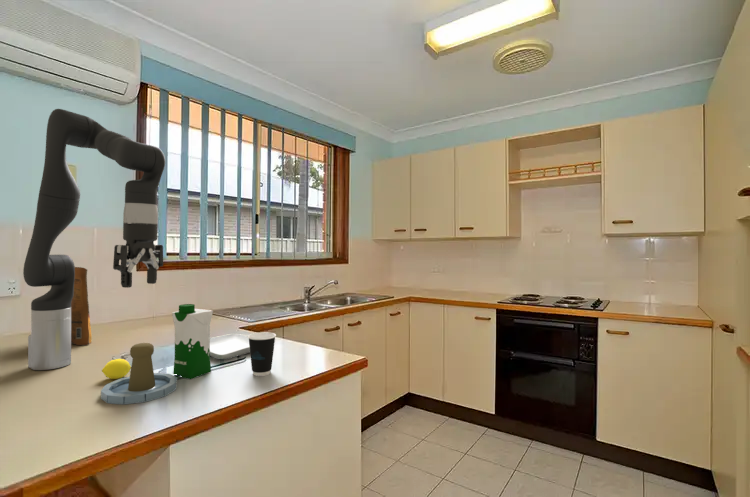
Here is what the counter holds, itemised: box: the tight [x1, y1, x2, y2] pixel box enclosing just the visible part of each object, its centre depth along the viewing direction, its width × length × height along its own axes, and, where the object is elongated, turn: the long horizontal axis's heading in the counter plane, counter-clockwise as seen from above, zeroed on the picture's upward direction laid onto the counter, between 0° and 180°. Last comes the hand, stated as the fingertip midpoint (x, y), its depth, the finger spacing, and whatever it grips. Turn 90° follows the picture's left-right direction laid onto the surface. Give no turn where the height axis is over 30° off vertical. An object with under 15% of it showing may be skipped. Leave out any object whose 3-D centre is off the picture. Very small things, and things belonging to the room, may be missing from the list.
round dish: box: [100, 372, 178, 405], centre depth 98 cm, size 16×16×2 cm
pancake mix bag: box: [71, 266, 93, 346], centre depth 143 cm, size 7×19×28 cm, turn 56°
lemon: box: [101, 358, 132, 380], centre depth 106 cm, size 7×5×5 cm
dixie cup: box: [247, 331, 277, 377], centre depth 112 cm, size 8×8×11 cm
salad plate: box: [210, 333, 250, 360], centre depth 135 cm, size 21×21×3 cm
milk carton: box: [171, 303, 214, 380], centre depth 111 cm, size 9×9×20 cm
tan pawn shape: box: [128, 342, 156, 392], centre depth 98 cm, size 6×6×11 cm
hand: (139, 285), depth 99 cm, fingers open, 8 cm apart
